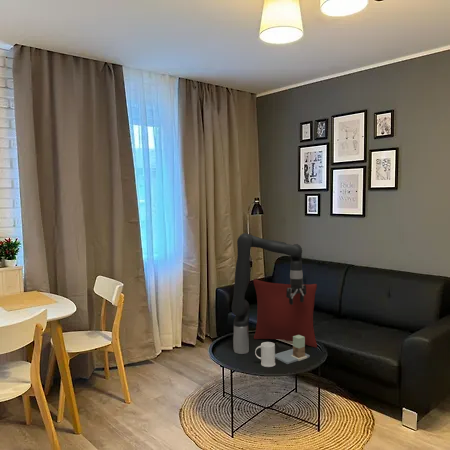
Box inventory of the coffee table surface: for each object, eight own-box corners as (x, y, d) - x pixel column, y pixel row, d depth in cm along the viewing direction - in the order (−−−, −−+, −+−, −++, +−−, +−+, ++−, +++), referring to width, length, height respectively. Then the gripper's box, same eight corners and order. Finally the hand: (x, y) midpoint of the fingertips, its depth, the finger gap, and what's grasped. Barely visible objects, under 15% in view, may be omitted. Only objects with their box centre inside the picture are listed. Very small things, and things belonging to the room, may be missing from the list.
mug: (253, 365, 254) (253, 345, 253) (257, 360, 262) (256, 340, 261) (274, 367, 250) (273, 347, 249) (276, 361, 258) (276, 342, 257)
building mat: (271, 356, 267) (271, 354, 266) (293, 349, 276) (293, 348, 276) (287, 364, 255) (287, 362, 254) (310, 357, 264) (310, 355, 264)
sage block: (292, 346, 264) (292, 336, 264) (299, 344, 267) (299, 334, 266) (298, 348, 260) (298, 338, 259) (304, 346, 263) (304, 336, 262)
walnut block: (293, 355, 265) (292, 346, 264) (299, 353, 267) (299, 344, 267) (298, 358, 260) (298, 348, 260) (304, 356, 263) (304, 346, 263)
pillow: (320, 343, 287) (320, 281, 283) (314, 351, 274) (314, 286, 270) (258, 334, 305) (257, 276, 302) (250, 342, 292) (249, 281, 288)
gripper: (300, 274, 272) (300, 300, 274) (283, 277, 265) (283, 303, 266) (309, 276, 266) (309, 302, 268) (291, 279, 258) (292, 306, 260)
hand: (296, 303), depth 267 cm, fingers open, 8 cm apart
